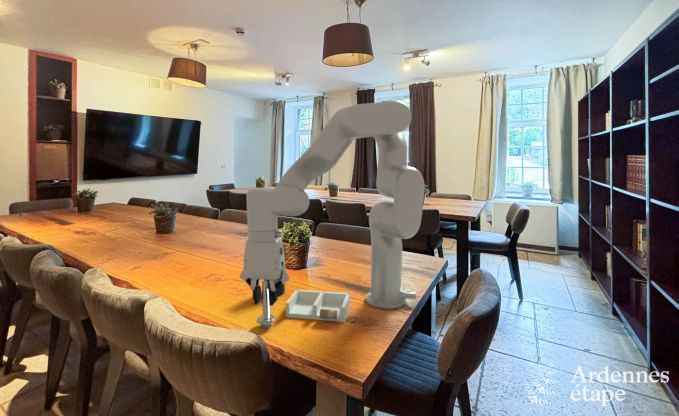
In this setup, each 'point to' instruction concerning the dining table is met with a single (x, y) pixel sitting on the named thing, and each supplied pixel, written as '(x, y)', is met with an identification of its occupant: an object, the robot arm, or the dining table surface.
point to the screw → (265, 308)
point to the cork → (328, 313)
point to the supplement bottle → (280, 289)
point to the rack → (317, 304)
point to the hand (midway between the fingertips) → (265, 302)
